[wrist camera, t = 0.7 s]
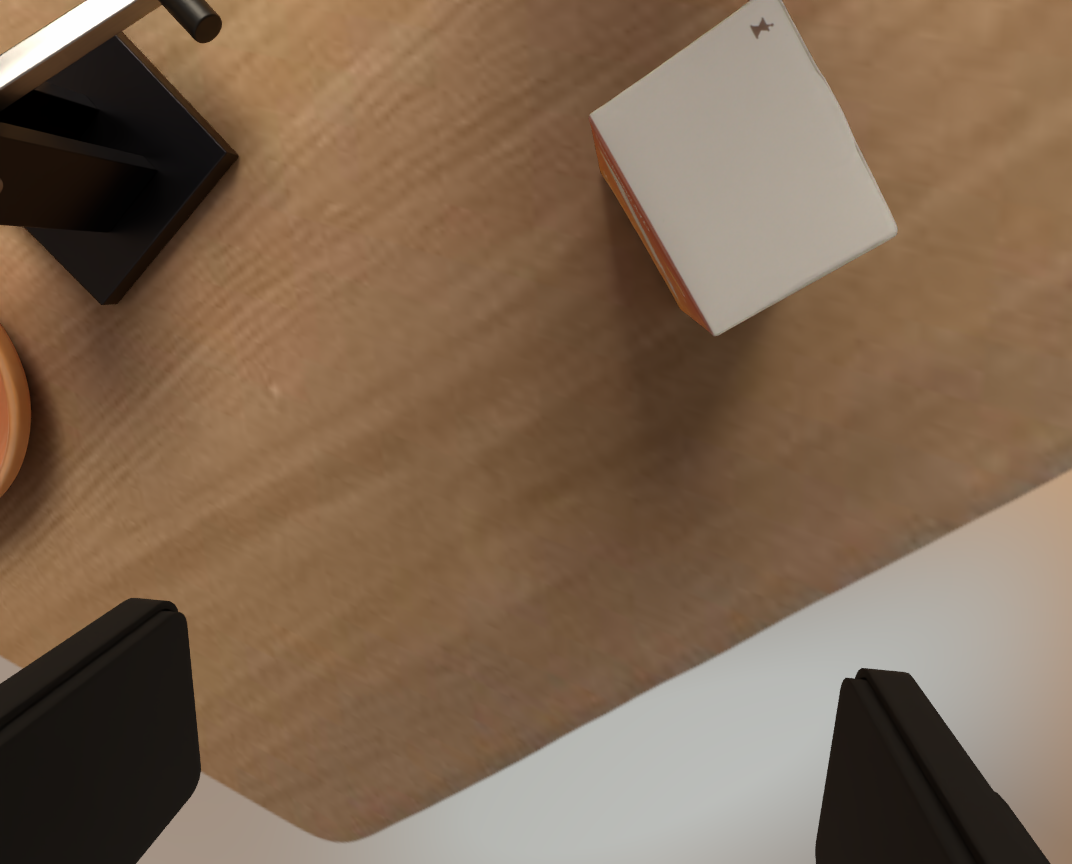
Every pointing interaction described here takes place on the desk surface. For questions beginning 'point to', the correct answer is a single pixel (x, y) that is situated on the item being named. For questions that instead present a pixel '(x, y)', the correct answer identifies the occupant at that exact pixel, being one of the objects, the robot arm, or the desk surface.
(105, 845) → the robot arm
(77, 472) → the desk surface
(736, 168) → the small box
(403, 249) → the desk surface
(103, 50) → the stand
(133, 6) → the lever
